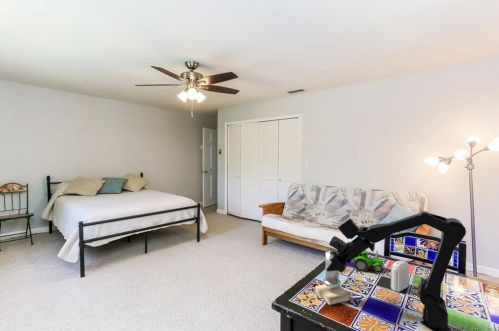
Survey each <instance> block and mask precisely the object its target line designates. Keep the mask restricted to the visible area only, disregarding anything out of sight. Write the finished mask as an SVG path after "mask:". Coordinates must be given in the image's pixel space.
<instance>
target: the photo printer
mask: <svg viewBox="0 0 499 331" xmlns="http://www.w3.org/2000/svg"><path fill="white" fill-rule="evenodd" d="M409 281H410V265H409V263H408V262H407V261H405V260H397V261H395V262H394V263H393V264H392V265H391V267H390V289H391V290H392V291H394V292H401V291H403V290H405V289H407V288H408V287H410V282H409Z"/></svg>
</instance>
